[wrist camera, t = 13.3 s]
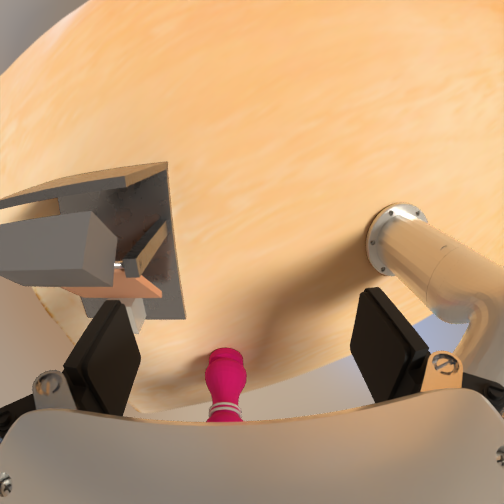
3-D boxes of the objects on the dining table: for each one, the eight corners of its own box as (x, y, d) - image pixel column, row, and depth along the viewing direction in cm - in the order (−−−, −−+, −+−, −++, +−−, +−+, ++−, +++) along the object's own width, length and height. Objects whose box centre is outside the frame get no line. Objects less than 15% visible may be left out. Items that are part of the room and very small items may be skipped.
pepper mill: (218, 339, 48) (213, 435, 29) (253, 354, 50) (261, 447, 31) (200, 363, 50) (190, 454, 32) (233, 377, 52) (235, 465, 33)
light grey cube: (130, 306, 38) (138, 333, 40) (140, 290, 43) (146, 315, 45) (102, 306, 38) (110, 332, 40) (113, 290, 42) (120, 315, 44)
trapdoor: (96, 210, 21) (87, 268, 19) (162, 278, 42) (161, 311, 40) (-3, 225, 20) (-12, 270, 19) (85, 279, 41) (83, 309, 39)
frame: (167, 161, 36) (124, 175, 22) (186, 316, 46) (170, 388, 31) (57, 178, 36) (-10, 203, 21) (89, 315, 45) (51, 373, 30)
